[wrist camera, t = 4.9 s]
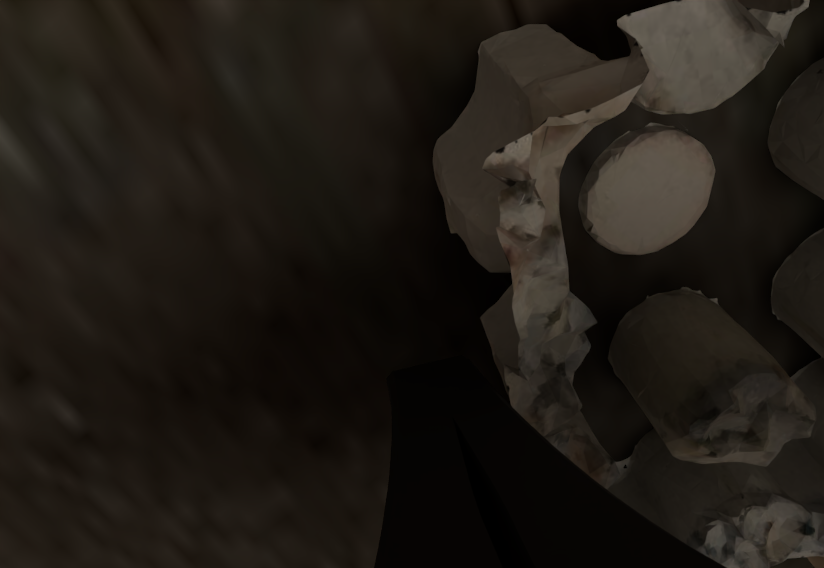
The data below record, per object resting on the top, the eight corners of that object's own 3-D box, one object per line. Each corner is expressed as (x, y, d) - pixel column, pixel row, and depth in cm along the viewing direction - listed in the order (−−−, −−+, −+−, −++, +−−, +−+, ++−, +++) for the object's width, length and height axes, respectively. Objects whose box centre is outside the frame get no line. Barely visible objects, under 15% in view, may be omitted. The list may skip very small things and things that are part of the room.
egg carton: (385, 38, 10) (465, 145, 7) (882, -117, 11) (1195, -90, 7) (509, 516, 16) (584, 701, 13) (825, 407, 16) (981, 558, 13)
